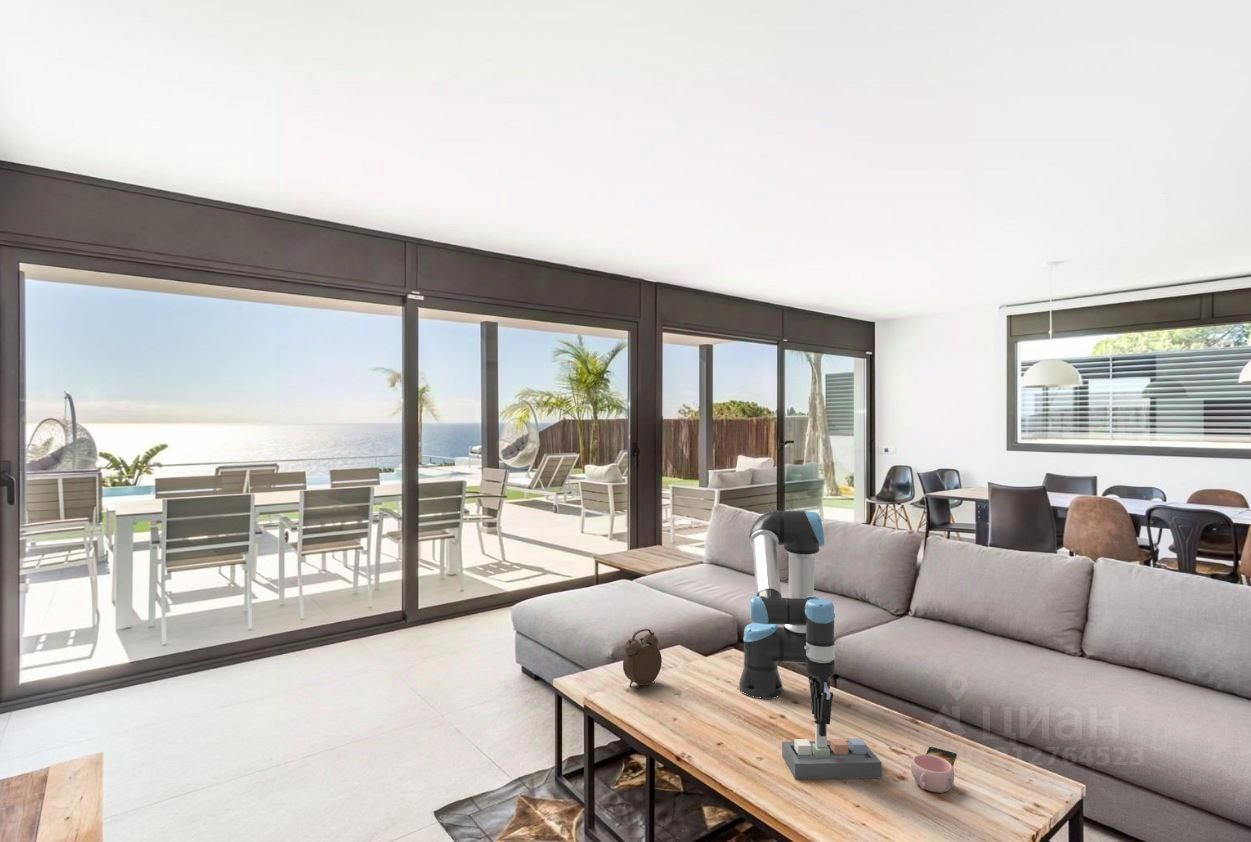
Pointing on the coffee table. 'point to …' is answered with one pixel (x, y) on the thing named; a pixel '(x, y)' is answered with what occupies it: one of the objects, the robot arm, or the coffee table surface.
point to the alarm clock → (642, 659)
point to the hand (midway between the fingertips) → (821, 745)
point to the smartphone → (942, 754)
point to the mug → (932, 773)
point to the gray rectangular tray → (831, 764)
